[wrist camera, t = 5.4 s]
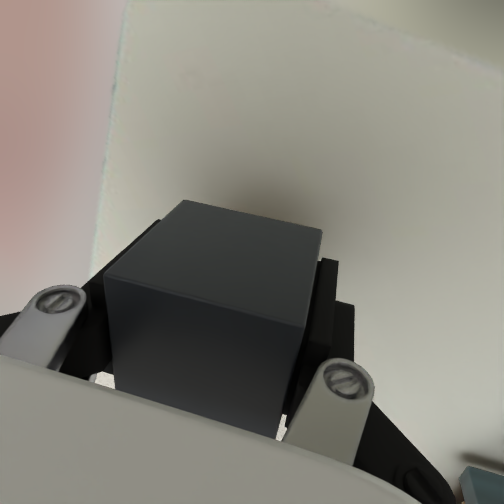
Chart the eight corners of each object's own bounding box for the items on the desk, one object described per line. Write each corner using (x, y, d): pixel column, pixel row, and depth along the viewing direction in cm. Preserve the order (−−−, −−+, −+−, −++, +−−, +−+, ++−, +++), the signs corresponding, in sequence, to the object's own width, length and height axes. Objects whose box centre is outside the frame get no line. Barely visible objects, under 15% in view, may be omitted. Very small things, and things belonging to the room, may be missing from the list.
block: (183, 197, 12) (100, 273, 8) (323, 228, 11) (305, 327, 8) (180, 306, 14) (115, 404, 11) (296, 337, 14) (271, 453, 10)
